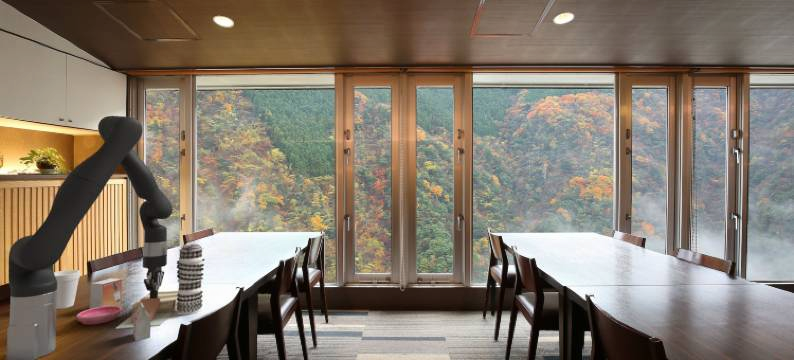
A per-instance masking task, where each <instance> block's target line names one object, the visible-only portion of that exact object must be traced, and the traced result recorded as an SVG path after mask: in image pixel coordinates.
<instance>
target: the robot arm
mask: <svg viewBox="0 0 794 360" xmlns="http://www.w3.org/2000/svg"><path fill="white" fill-rule="evenodd" d="M97 131H98V134H99V135H100V137H101V138H102V140H103V144H102V145H101V146H100V148H98V150H97V151H95V152H94V153H93V154H92V155H90V156H88V157H87V158H86V159H85V160H83V161H82V162H80V163H79V164H78V165H76V166H75V167H73V169H72V170H71V171H70V172H69V174H68V175H67V177H66V178H65V179H64V180H63V181H62V183H61V185H60V186H59V188H58V190H56V191H57V192H56V193H55V196H54V199H53V202H52V205H51V208H50V211H49V213H48V215H47V217H46V218H45V220H44V221H43V222H42V223H41V225H40V227H38V229H37V230H36V232H35V233H34V234H30V235H25V236H23V237H21V238H19V239H17V240H16V241H15V242H14V243H13V244H11V247H10V250H9V253H8V285H9V289H10V305H9V306H10V307H9V326H8V327H7V329H6V331H7V332H6V333H7V334H6V355H5V356H6V359H5V360H36V359H38V358H41V357H42V358H43V357H44V356H46V355H49V354H51V353H53V352H54V351H55V350H56V332H57V309H56V306H57V279H56V277H55V275H54V272H55V269H54V265H55V264H56V263H57V262H59V260H60V258H61V257H62V256H63V254H64V251H65V250H66V249H67V246H68V244H69V242H70V240H71V238H72V236H73V234H74V232H75V231H76V229H77V227H78V225H80V223H81V222H82V220H83V219H84V218H85V216H86V215H87V213H88V212H89V211H90V209H91V208H92V206H93V205H94V203H95V202H96V201H97V199H98V198H99V196H100V195H101V193H102V192H103V191H104V188H105V187H106V186H107V184H108V183H109V180H110V179H111V177H113V175H114V174H115V172H116V170H117V169H118V168H119V166H121V168H122V170H123V171H124V172H125V174H126V176H127V178H128V179H129V181H130V184H131V186H132V188H133V190H134V192H135V195H137V196H136V197H138V198H139V199H141V200H144V201H143V202H142V203H141V204H140V207H139V211H138V212H139V217H140V221H141V225H142V228H143V231H144V233H143V247H142V268H144V269H147V271H146V278H144V279H143V284H144V287H145V289H146V291H148V292H149V293H150V299H154V298H158V292H159V289H160V287H161V286H162V283H163V279H164V275H165V271H164V270H162V268H163V267H166V266H167V264H168V243H167V242H168V241H167V240H168V239H167V237H168V235H167V234H168V233H167V232H168V231H167V230H168V229H167V227H166V226H165V225H163V224H161V223H160V222H159V220H165V219H169V218H170V217H171V215H172V213H173V205H172V202H171V201H170V199H169V198H168V197H167V196H166V194H165V193H164V192H163V191H162V190H161V189H160V188H159V185H158V183H157V180H156V178H155V176H154V174H153V173H152V171H151V170H150V168H149V167H148V166H147V165H146V163H145V162H144V161H143V160H142V159H141V158H140V156H139V155H138V154H137V153H136V151H135V149H134V147H135V146H136V145H137V144H138V142H139V141H140V140H141V137H142V136H143V125H142V123H141V122H140V120H138V119H136V118H133V117H130V116H122V115H120V116H119V115H107V116H105V117H103V118H101V120H99V122H98V124H97Z"/></svg>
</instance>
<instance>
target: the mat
mask: <svg viewBox="0 0 794 360" xmlns="http://www.w3.org/2000/svg"><path fill="white" fill-rule="evenodd" d="M172 315H173V313H159V314H155V316H154V318H153V320H152V321H151V325H150V327H158V326H161V325H162V324H163V323H164V322H166V321H167V319H168V318H170V316H172ZM121 329H122V330H123V329H133V323H132V322H131V316H129V317H128V318H126V319H125V320H124V321H123V322H121V323H120V324H119V325H118V326H116V327H115V330H121Z"/></svg>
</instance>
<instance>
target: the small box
mask: <svg viewBox="0 0 794 360" xmlns="http://www.w3.org/2000/svg"><path fill="white" fill-rule="evenodd" d="M122 288H123V280H122V278H111V277H110V278H107V279H103V280H99V281H95V282H90V297H89V309H92V308H97V307H102V306H120V307H122V292H123V291H122Z"/></svg>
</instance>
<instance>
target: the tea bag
mask: <svg viewBox="0 0 794 360" xmlns="http://www.w3.org/2000/svg"><path fill="white" fill-rule="evenodd" d="M150 325H151V319H150V317H149V315H148V313H147V312H146V310H145V308H144V306H143V304H142V302H140V304H139V306H138V308H137V310H136V312H135V314H134V316H133V328H132V336H133V338H134V341H135V342H137V341H141V340H142V341H143V340H146V339H150V338H151V326H150Z"/></svg>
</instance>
